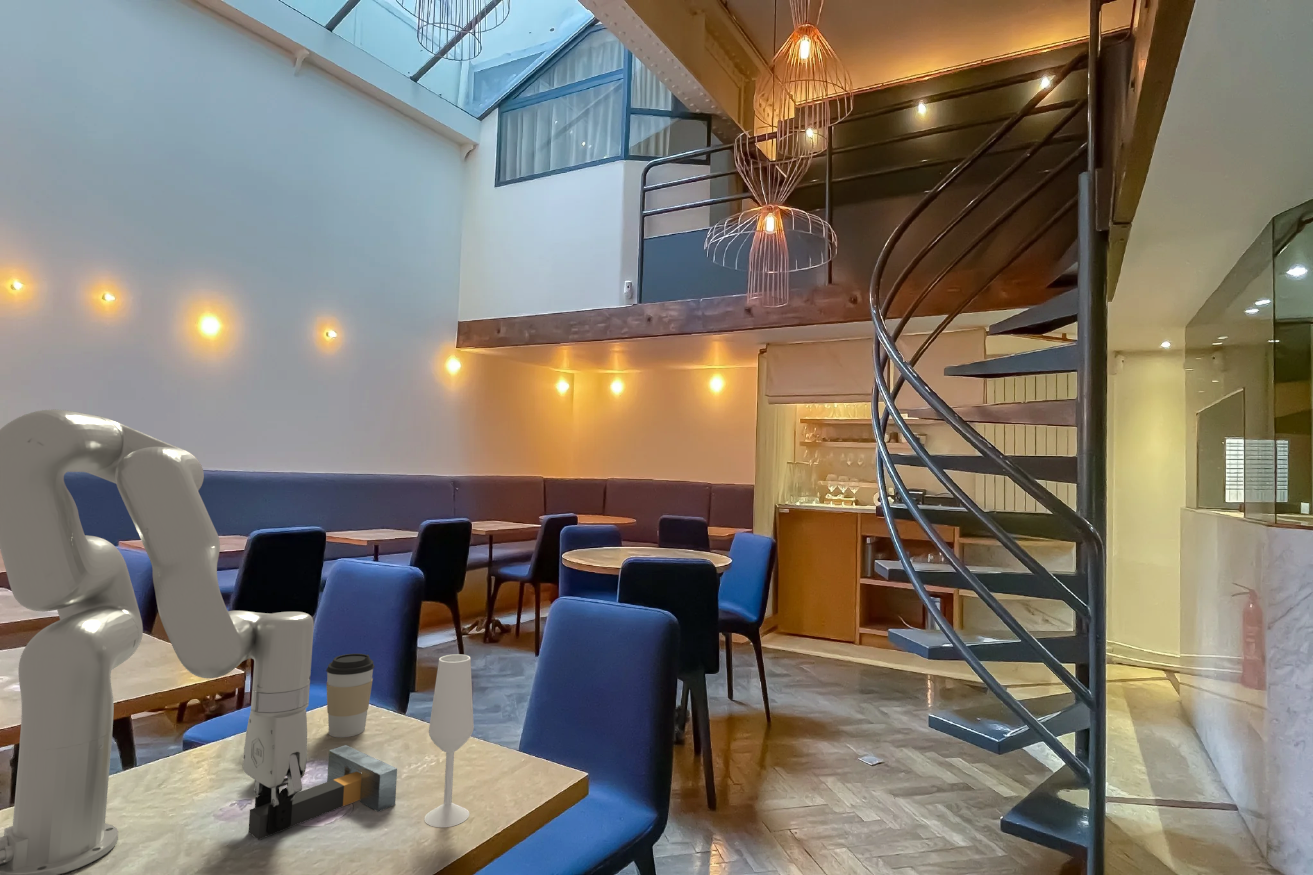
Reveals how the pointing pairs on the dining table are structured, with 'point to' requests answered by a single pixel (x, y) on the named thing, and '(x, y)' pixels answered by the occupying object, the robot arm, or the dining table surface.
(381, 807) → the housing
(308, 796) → the plug
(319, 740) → the dining table surface
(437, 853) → the dining table surface
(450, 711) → the champagne flute
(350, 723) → the coffee cup
